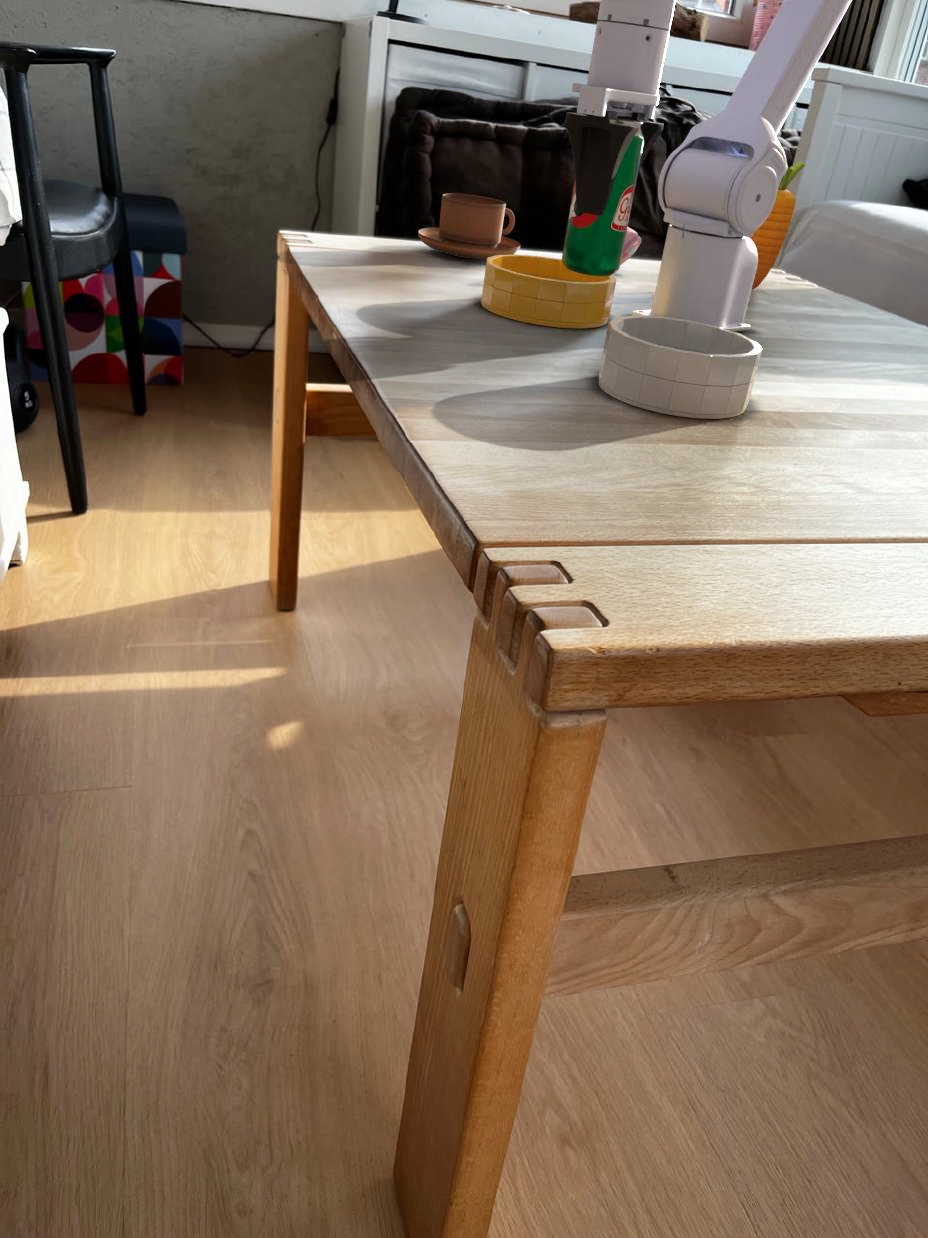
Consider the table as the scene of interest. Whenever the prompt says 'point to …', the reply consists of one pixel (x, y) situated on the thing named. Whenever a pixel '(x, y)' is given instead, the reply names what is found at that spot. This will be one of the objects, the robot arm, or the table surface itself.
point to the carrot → (775, 227)
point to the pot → (678, 366)
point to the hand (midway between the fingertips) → (600, 211)
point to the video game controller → (630, 244)
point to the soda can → (604, 219)
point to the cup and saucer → (471, 228)
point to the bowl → (546, 292)
